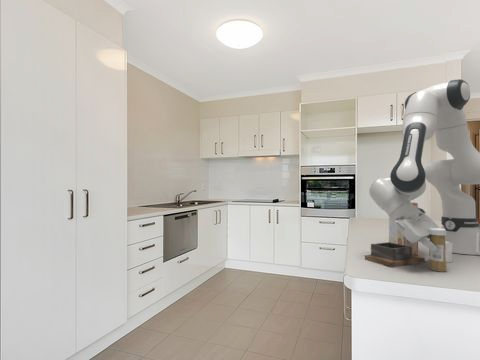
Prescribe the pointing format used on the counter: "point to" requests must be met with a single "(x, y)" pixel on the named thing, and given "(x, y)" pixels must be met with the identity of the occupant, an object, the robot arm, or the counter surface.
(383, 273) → the counter surface
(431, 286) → the counter surface
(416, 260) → the stand
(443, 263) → the sprinkles bottle
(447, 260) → the white cup
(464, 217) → the robot arm
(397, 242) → the cracker box
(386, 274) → the counter surface
